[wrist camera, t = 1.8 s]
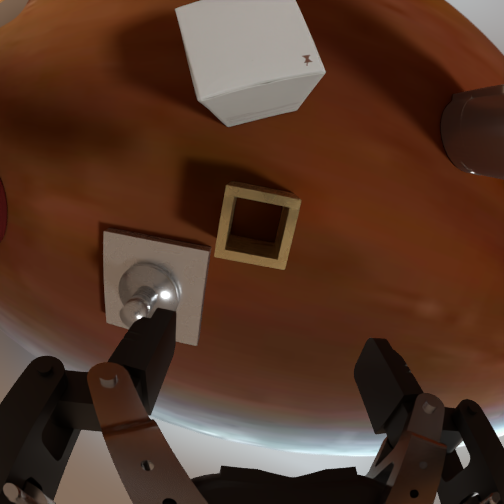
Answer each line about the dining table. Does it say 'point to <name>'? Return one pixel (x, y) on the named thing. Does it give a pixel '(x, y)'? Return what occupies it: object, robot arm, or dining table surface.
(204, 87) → the supplement box
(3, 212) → the frying pan
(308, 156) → the dining table surface
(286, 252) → the box
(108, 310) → the shaft stand
